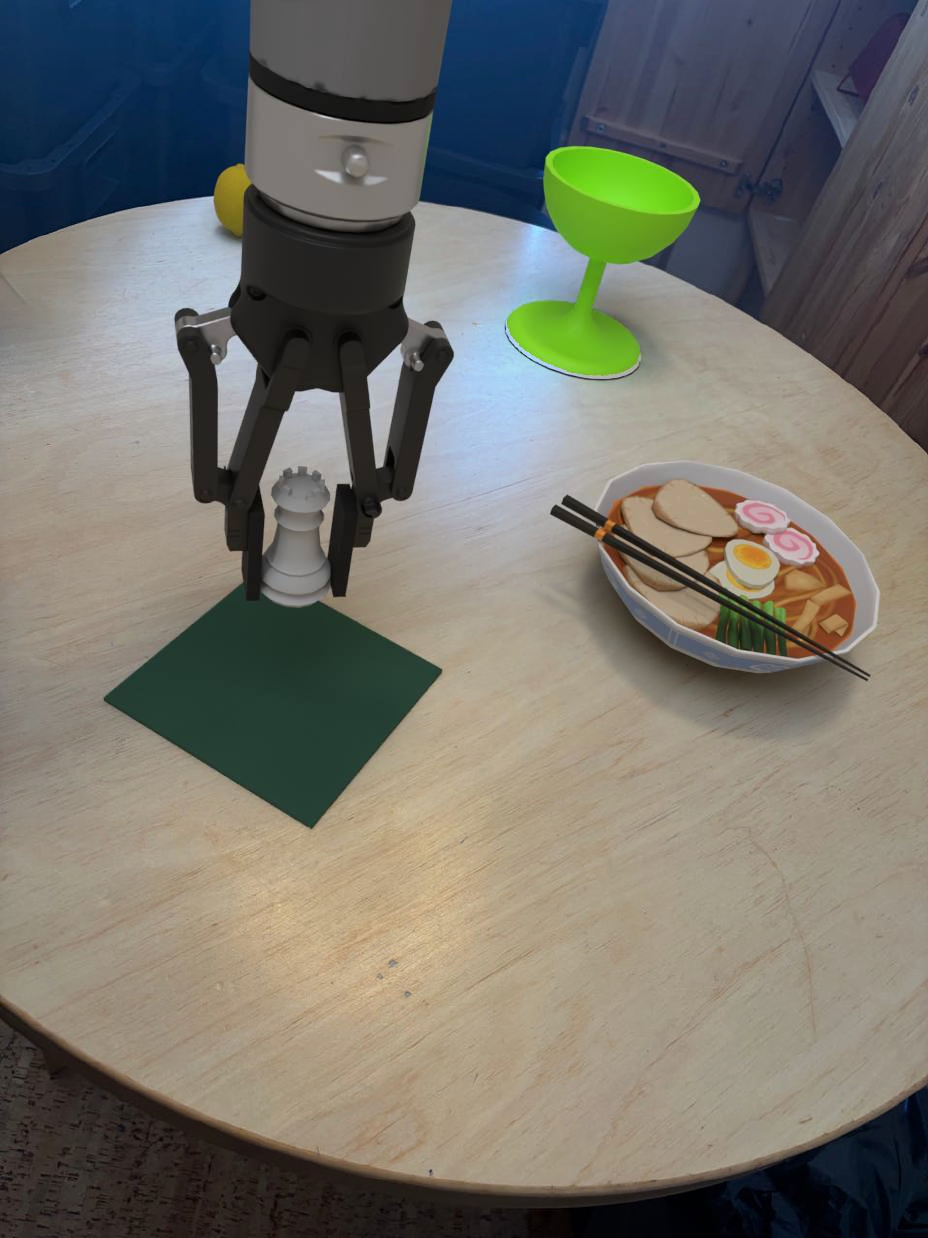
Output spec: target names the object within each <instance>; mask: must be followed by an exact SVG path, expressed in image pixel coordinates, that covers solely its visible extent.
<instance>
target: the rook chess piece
mask: <svg viewBox="0 0 928 1238" xmlns="http://www.w3.org/2000/svg"><path fill="white" fill-rule="evenodd" d="M293 471H294V470H293V469H292V468H291V467H287V468H285V469H283V471H282V475H280V474H279V477H278V480H277V481H276V482H275V483H274V484H273V485H272V486H271V491H270V496H271V497H272V500H274V502H275V504H276V505H277V506H276V507H275V509H274V512H273V516H274V519H275V521H276V527H275V532H274V535H273V540H272V542H271V543H270V544H269V545H268V547H267V548H266V549H265V551H263V553H262V567H261V582H260V590H261V592H262V593H263V594H264V595H265V596H267V597H268V598H269V599H270V600H272V601H273V602H274V603H277V604H279V605H282V606H285V607H296V608H300V607H304V606H309V605H312V604H313V603H315V602H316V601H318V600H319V601H321V600H322V599H323V598H324V597H326V595H327V593H328V592H329V590H330V589H331V579H330V577H331V566H330V562H329V561H328V559H327V556H326V553H325V551H324V549H323V548H322V545H321V534H320V529H321V528H320V527H321V525H322V524H323V523H324V521H325V513H324V511H323V509H325V508H326V507H327V505H328V504H329V502H330V501H331V492H330V490H329V489H328V486H327V485H326V479H324V478H323V479H322V475H323V474H322V473H321V472H319V470H316V469H314V470H313V471H311V474H310V473H308V466H302V465H298V466H297V472H293Z"/></svg>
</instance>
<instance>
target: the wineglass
mask: <svg viewBox="0 0 928 1238" xmlns="http://www.w3.org/2000/svg"><path fill="white" fill-rule="evenodd" d="M544 161H545V162H544V171H543V176H542V177H543V178H542V181H543V184H542V185H543V193H544V202H545V207H546V210H547V212H548V215H549V217H550V219H551V221H552V224H553V226H554V228H555V230H556V231H557V233H558V234H559V235H560V236H561V237H562V238H563V240H564V241H565V242H566V244H567V245H568V246H570V247H571V248H572V249H573V250H574V251H576V252H577V253H579V254H581V255H583V256H585V257H587V258H588V262H587V264H586V268H585V271H584V275H583V278H582V281H581V285H580V288H579V292H578V294H577V298H576V301H575V302H570V301H564V300H551V299H549V300H546V299H545V300H535V301H531V302H528V303H523V304H522V305H520V306H519V307H516V308H515V309H513V310H512V311H511V312H512V313H511V312H510V313H511V314H510V313H509V314H508V316H509V317H507V318H506V320H507V326H508V327H507V328H508V329H509V332H510V335H511V336H512V337H513V339H515V341H516V342H517V343H519V346H520V347H522V348H523V349H524V350H525V351H527V352H529V353H530V354H531V355H533V356H535V357H536V358H539V359H540V360H541V361H543V362H546V363H548V364H551V365H554V366H555V367H558V368H561V369H563V370H566V371H567V372H571V373H577V374H583V375H587V376H588V375H593V376H594V375H595V376H596V375H601V376H604V375H606V376H607V375H609V374H611V375H612V374H618V373H621V372H624V371H626V370H628V369H630V368H631V367H633V365H635V364H636V363H637V361H638V358H639V355H640V354H641V355H642V352H640V350H641V347H640V348H639V346H640V344H639V342H638V340H637V339H636V337H635V335H634V334H633V333H632V332H631V331H630V330H629V329H628V328H627V327H625V325H623V324H622V323H621V322H620V321H618V320H617V319H615V318H613V317H612V316H610V315H608V314H607V313H605V312H604V313H603V312H602V311H600V310H597V309H594V304H595V302H596V299H597V295H598V292H599V289H600V286H601V282H602V279H603V276H604V273H605V271H606V266H607V264H613V265H628V264H632V263H636V262H639V261H644V260H647V259H650V258H652V257H654V256H656V255H657V254H658V253H660V252H661V251H663V250H664V249H666V248H667V247H669V246H671V245H672V244H674V243H675V241H676V240H678V238H679V237H680V236H681V235H682V234H683V233H684V231H686V229H687V228H688V227H689V225H690V224H691V222H692V219H693V218H694V215H695V214H696V213H697V210H698V208H699V205H700V202H701V198H700V194H699V192H698V191H697V190H696V189H695V187H694V186H693V185H692V184H691V183H690V182H688V181H687V180H686V179H684V178H683V177H682V176H680V175H679V174H677V173H675V172H673V171H671V170H669V169H668V168H666V167H664V166H662V165H659V164H657V163H655V162H653V161H650V160H647V159H645V158H641V157H639V156H635V155H633V154H629V153H627V152H622V151H618V150H613V149H609V148H601V147H595V146H581V145H580V146H579V145H578V146H577V145H573V146H572V145H571V146H564V147H558V148H556V149H554V150H552V151H551V150H550V152H549V153H548V154H547V155H546V157H545V160H544ZM638 344H639V345H638Z"/></svg>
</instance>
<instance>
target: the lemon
mask: <svg viewBox="0 0 928 1238" xmlns="http://www.w3.org/2000/svg"><path fill="white" fill-rule="evenodd" d="M244 166H245V164H243V163H237V164H236V165H234V166H230V167H228V168H226V169H224V170H223V171H222V172H221V173H220V175H219V176H218V178H217V181H216V183H215V186H214V192H213V207H214V210H215V215H216V217H217V219H218V221H219V222H220V223H221V225H222V226H223V227H224V228H225V229H227V230H228V231H230V232H232V233H233V235H235V236H236V237H242V228H243V201H244V192H245V190H246V189H247V187H248V186H249V185H250V184H252V182H251V181H250V180H249V179H248V178H247V174H246V171H245V168H244Z"/></svg>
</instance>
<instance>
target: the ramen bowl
mask: <svg viewBox="0 0 928 1238" xmlns="http://www.w3.org/2000/svg"><path fill="white" fill-rule="evenodd" d="M560 504H561V505H562V506H563V507H565V508H563V507H561V506H559V505H558V504H554V505H553V506H552V507H551V509H550V512H549V515H550V516H552V517H554V518H556V519H558V520H559V521H561V522H563V523H566V525H569V526H571V527H573V528H574V529H577V530H579V531H580V532H582V533H584V534H586V535H588V536H590V537H592V538H595V539H597V545H598V550H599V557H600V562H601V565H602V567H603V570H604V573H605V575H606V577H607V579H608V581H609V582H610V584H611V585H612V587H613V589H614V590H615V591H616V593H617V594H618V596H619V597H620V598H621V601H622V602H623V603H624V604H625V606H626V607H627V609H628V611H629V612H630V613H631V615H632V616H633V618H634V619H635V620H636V622H638V623H639V624H640V625H641V626H642V627H644V628H645V629H647V630H648V631H649V632H651V634H652V635H654V636H655V637H656V638H658V639H659V640H660V641H662V642H663V643H664V644H665V645H667V646H668V647H669V648H670V649H673V650H675V651H678V652H680V653H683V654H685V655H687V656H689V657H691V658H694V659H696V660H698V661H701V662H703V663H706V664H707V665H710V666H711V667H715V668H722V669H729V670H736V671H742V672H747V673H754V674H755V673H756V674H771V673H776V672H781V671H785V670H790V669H796V668H800V667H806V666H810V665H814V664H818V663H822V662H827V661H828V662H829V663H831V664H833V665H835V666H837V667H839V668H841V669H842V670H845V671H846V672H848V673H850V674H852V675H854V676H856V677H858V678H860V679H862V680H863V681H865V682H868V681H869V678H870V677H871V674H870V673H869V672H866V671H865V670H864V669H861V668H860V667H858V666H857V665H855V664H853V663H852V662H850V661H849V660H846V659H845V658H843V657H841V656H842V655H845V654H846V653H849V652H850V651H851V650H853V648H854V647H856V646H857V645H858V644H859V643H860V642H861V641H862V640H863V639H864V638H866V637H867V636H868V635H869V634H870V633H871V632H872V631H874V630H875V629H876V628H877V625H878V615H879V607H880V600H881V599H880V597H881V590H880V588H879V586H878V583H877V581H876V579H875V576H874V574H873V572H872V570H871V567H870V565H869V562H868V560H867V558H866V555H865V553H864V552H862V550H861V549H860V548H859V547H858V546H857V545H856V544H855V543H854V542H853V541H852V539H850V538H849V537H848V535H847V534H845V532H844V531H843V530H842V529H841V528H840V527H839V526H838V525H837V524H836V523H835V522H834V521H833V520H832V519H831V518H830V517H829V516H827V515H826V514H825V513H823V512H821V511H820V510H819V509H817V508H815V507H814V506H812V505H810V503H808V502H806V501H805V500H803V499H802V498H800V497H799V496H797V495H796V494H794V493H793V492H791V491H790V490H788V489H787V488H785V487H782V486H780V485H778V484H775V483H772V482H770V481H767V480H765V479H763V478H761V477H758V476H755V475H752V474H750V473H747V472H745V471H742V470H740V469H737V468H733V467H729V466H722V465H717V464H712V463H706V462H700V461H694V460H691V459H690V460H689V459H680V460H679V459H677V460H669V461H658V462H657V461H655V462H645V463H641V464H639V465H637V466H634V467H632V468H630V469H629V470H625V472H622V473H621V474H618V475H616V476H614V477H612V478H610V479H609V480H608V481H607V483H606V485H605V487H604V489H603V490H602V493H601V494H600V496H599V498H598V500H597V502H596V503H595V505H594V507H593V508H591V507H590V506H588V505H586V504H584V503H582V502H581V501H579V500H578V499H576V498H574V497H572V496H571V495H569V494H565V496H563V497H562V500H561V503H560ZM566 508H567V509H569V510H571V511H573V512H574V513H576V514H578V515H579V516H578V515H576V514H574V513H573V512H571V511H568V510H567V509H566ZM580 516H582V517H583V518H584V519H583V518H581V517H580ZM586 519H587V520H589V521H591V522H592V523H594V524H595V525H594V524H592V523H590V522H589V521H586ZM835 659H836V660H835ZM840 662H841V663H840ZM842 663H843V664H842ZM844 664H845V665H844ZM846 665H847V666H846ZM848 666H849V667H850V668H849V667H848ZM855 670H856V671H857V672H856V671H855ZM858 672H859V673H858ZM862 674H863V675H862ZM865 676H867V677H868V678H867V677H865Z"/></svg>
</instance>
